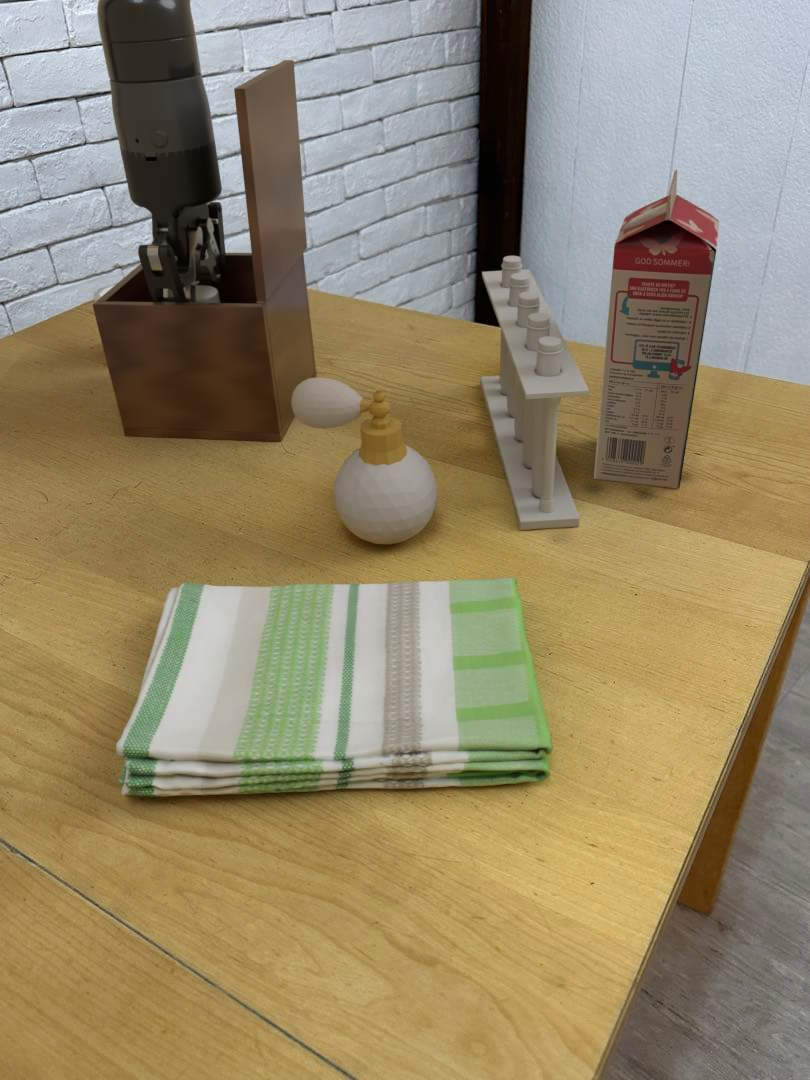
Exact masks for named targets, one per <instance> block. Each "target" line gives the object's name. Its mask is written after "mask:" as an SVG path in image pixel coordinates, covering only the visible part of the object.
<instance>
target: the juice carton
mask: <svg viewBox="0 0 810 1080" xmlns="http://www.w3.org/2000/svg"><path fill="white" fill-rule="evenodd" d="M677 182H678V169H674V172H673V175H672V179H671V183H670V187H669V190H668V195H666V196H663V197H662V198H659V199H657V200H655V201H653V202H651V203H649V204H647V205H644V206H642V207H640V208H638V209H636V210H634V211H633V212H630V213H629V214H628V215H626V216H625V217H624V219H623V222H622V224H621V227H620V229H619V232H618V235H617V237H616V240H615V243H614V247H613V257H612V258H613V259H612V269H611V270H612V271H611V280H610V292H609V302H608V303H609V304H608V314H607V315H608V316H607V325H606V335H605V336H606V338H605V348H604V359H603V371H602V381H601V382H602V383H601V392H600V405H599V412H598V413H599V416H598V423H597V424H598V427H597V435H596V448H595V460H594V471H593V480H599V481H600V480H602V481H610V482H617V483H618V482H619V483H625V484H634V485H643V486H651V487H652V486H653V487H660V488H670V489H676V490H677V489H679V490H680V487H681V481H682V475H683V467H684V461H685V454H686V448H687V443H688V435H689V428H690V423H691V416H692V410H693V403H694V397H695V390H696V384H697V379H698V372H699V365H700V358H701V352H702V345H703V339H704V333H705V325H706V320H707V319H706V318H707V314H708V308H709V307H708V306H709V301H710V300H709V299H710V294H711V287H712V282H713V281H712V280H713V274H714V269H715V261H716V255H717V248H718V237H719V227H720V220H719V219H717V218H716V217H715V216H714V215H713V214H711V213H710V212H708V211H707V210H705V209H703V208H701V207H699V206H698V205H696V204H694V203H692V202H690V201H689V200H688V199H685V198H684V197H682V196H681V195H678V194H677V188H678V187H677V186H678V185H677V184H678V183H677Z"/></svg>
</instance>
